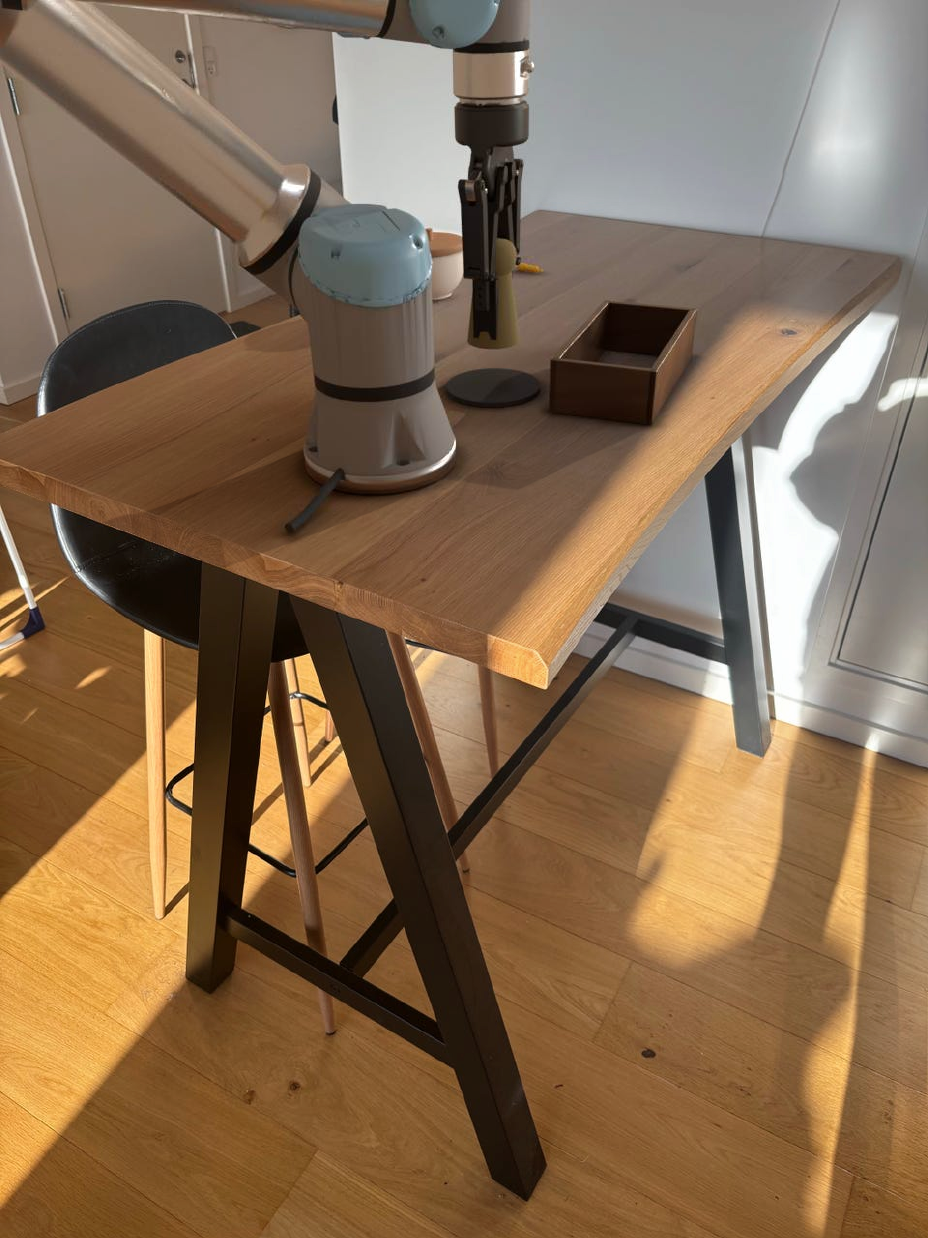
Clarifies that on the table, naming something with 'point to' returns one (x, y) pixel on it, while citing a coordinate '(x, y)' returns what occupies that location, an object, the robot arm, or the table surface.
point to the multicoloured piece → (528, 268)
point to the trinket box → (445, 262)
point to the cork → (501, 302)
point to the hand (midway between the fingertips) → (493, 330)
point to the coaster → (493, 387)
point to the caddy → (622, 387)
